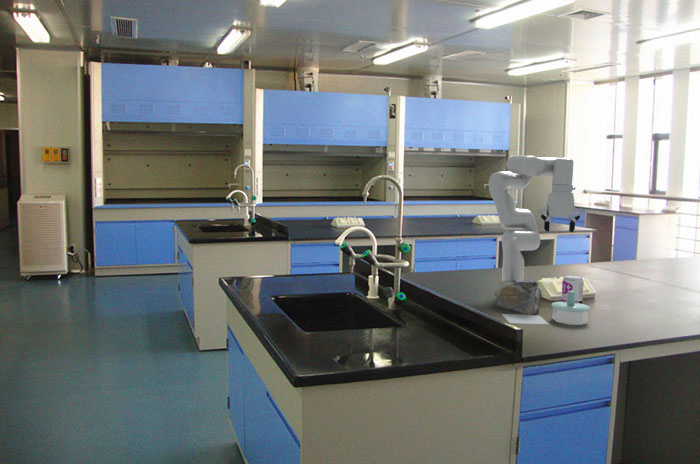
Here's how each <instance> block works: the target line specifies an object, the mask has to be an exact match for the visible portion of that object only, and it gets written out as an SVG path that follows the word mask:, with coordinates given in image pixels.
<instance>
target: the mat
mask: <svg viewBox="0 0 700 464" xmlns="http://www.w3.org/2000/svg"><path fill="white" fill-rule="evenodd" d="M501 315H502V316H503V317H504V319H505V320H506V321H507V322H508V323H509V324H518V325H519V324H522V325H524V324H525V325H526V324H527V325H550V323H549V322H547V321H546V320H545V319H544V318H543V317H542V316H541V315H538V314H533V315H528V314H513V313H511V314H510V313H501Z"/></svg>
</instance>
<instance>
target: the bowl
mask: <svg viewBox="0 0 700 464" xmlns="http://www.w3.org/2000/svg"><path fill="white" fill-rule="evenodd" d="M551 317H552V320H553V321H555V322H557V323H561V324H565V325H575V326H576V325H577V326H582V325H587V323H588V320H589V311H586V312H570V311H563V310H559V309H555V308H553V307H552V315H551Z"/></svg>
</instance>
